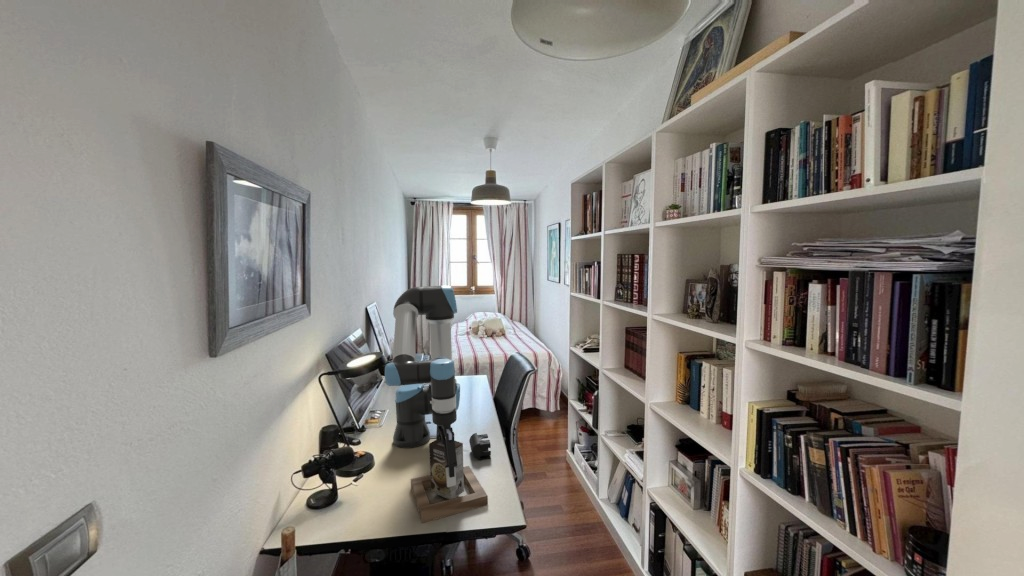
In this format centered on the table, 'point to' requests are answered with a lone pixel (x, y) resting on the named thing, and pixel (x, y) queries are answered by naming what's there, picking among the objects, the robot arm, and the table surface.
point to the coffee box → (439, 470)
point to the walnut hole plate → (449, 506)
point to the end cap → (480, 446)
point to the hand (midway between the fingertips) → (447, 476)
